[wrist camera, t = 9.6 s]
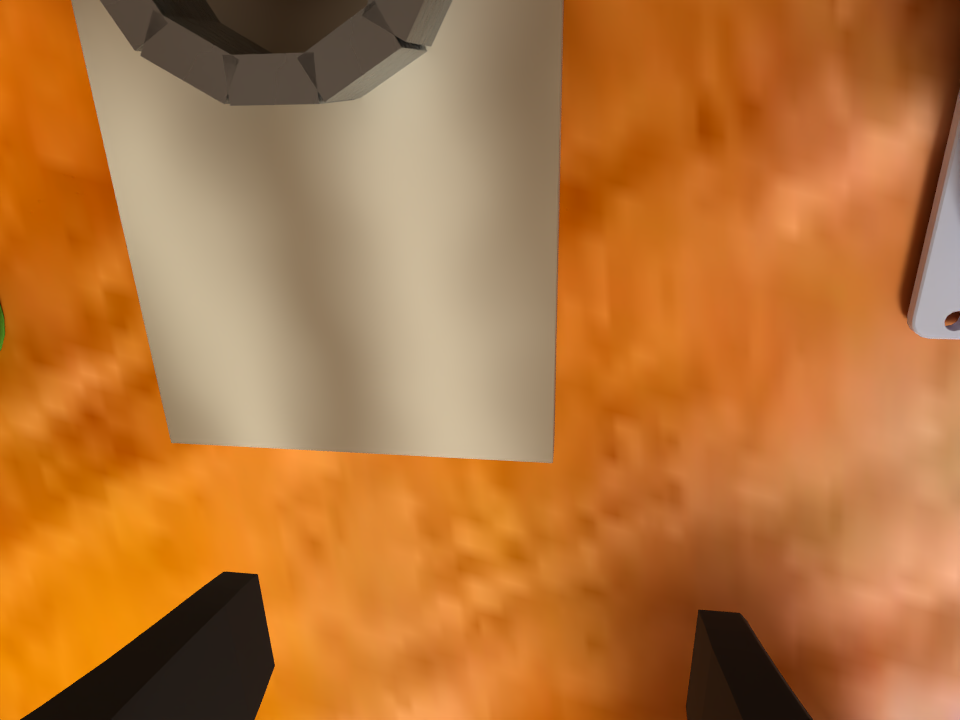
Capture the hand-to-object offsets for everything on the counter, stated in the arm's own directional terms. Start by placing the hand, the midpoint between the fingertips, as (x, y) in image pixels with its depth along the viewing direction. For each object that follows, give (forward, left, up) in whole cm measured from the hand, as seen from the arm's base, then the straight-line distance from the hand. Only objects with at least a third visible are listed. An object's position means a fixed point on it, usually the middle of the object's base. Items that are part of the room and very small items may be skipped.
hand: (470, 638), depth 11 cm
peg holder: (+5, -9, -10) cm, 14 cm away
